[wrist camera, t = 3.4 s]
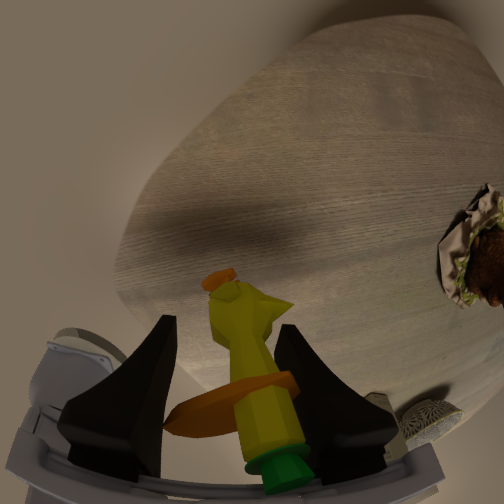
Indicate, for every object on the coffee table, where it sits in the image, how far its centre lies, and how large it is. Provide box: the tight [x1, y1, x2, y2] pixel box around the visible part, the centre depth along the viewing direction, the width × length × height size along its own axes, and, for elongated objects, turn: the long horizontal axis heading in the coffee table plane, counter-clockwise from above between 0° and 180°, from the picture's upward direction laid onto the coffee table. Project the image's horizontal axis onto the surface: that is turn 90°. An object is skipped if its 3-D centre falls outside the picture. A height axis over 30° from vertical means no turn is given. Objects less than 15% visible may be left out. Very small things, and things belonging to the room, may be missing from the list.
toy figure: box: [161, 268, 315, 496], centre depth 11 cm, size 7×4×12 cm, turn 115°
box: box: [365, 394, 409, 462], centre depth 29 cm, size 5×4×13 cm
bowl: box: [399, 399, 464, 451], centre depth 37 cm, size 16×16×8 cm
